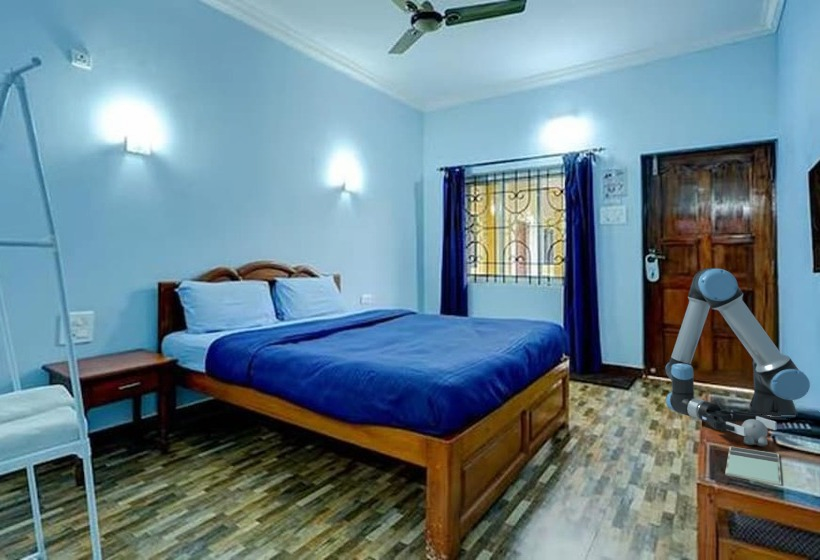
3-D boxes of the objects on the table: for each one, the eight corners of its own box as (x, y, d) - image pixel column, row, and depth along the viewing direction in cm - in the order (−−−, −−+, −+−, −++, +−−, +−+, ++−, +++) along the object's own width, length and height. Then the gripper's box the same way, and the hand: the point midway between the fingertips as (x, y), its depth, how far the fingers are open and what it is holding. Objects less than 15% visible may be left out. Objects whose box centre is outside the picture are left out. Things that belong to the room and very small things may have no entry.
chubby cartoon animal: (764, 448, 163) (763, 422, 166) (770, 446, 153) (768, 419, 156) (739, 445, 167) (738, 420, 169) (743, 443, 157) (741, 416, 160)
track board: (729, 447, 159) (729, 446, 159) (778, 455, 151) (778, 453, 151) (725, 475, 140) (725, 473, 140) (781, 485, 132) (781, 483, 132)
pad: (730, 455, 152) (730, 454, 152) (777, 463, 145) (777, 462, 145) (727, 473, 140) (727, 472, 140) (778, 482, 132) (778, 482, 132)
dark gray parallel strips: (731, 447, 158) (731, 446, 158) (776, 454, 151) (776, 454, 151) (730, 454, 152) (730, 453, 152) (777, 462, 145) (777, 461, 145)
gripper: (730, 416, 182) (788, 434, 162) (678, 425, 175) (731, 445, 155) (730, 397, 182) (787, 412, 162) (677, 405, 175) (731, 423, 155)
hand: (760, 428), depth 158 cm, fingers open, 13 cm apart
